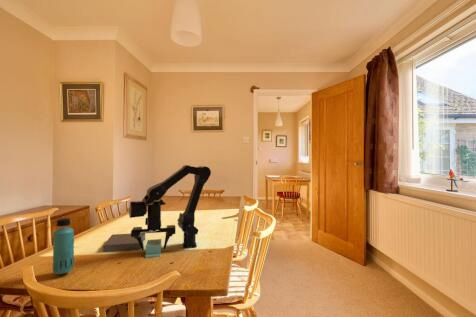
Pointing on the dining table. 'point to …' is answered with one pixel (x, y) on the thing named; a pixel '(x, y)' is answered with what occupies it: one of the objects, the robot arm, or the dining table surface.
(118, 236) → the stand
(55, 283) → the dining table surface
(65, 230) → the beverage bottle
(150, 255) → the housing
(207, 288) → the dining table surface
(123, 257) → the dining table surface
